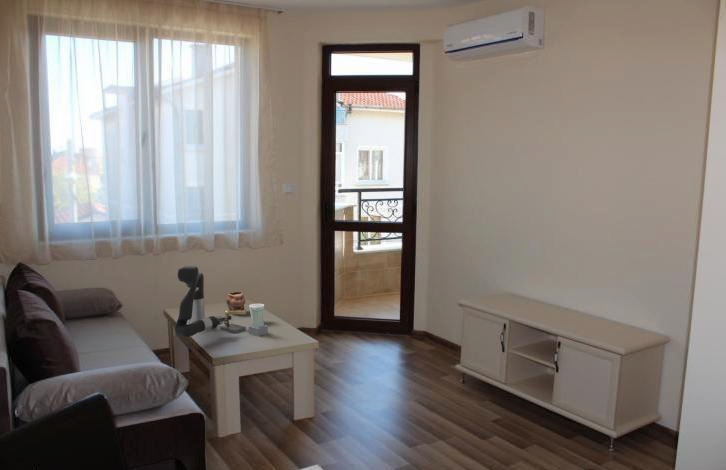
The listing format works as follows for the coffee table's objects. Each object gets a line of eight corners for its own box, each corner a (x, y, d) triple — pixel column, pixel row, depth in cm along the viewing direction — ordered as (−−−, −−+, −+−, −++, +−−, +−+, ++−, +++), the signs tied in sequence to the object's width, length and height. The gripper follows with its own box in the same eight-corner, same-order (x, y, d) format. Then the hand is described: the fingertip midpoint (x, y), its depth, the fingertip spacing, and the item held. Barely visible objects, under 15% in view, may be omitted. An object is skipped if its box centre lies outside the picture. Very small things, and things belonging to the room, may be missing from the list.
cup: (261, 324, 389) (261, 307, 388) (246, 323, 391) (246, 307, 390) (267, 320, 399) (266, 304, 398) (252, 319, 401) (252, 303, 400)
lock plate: (220, 329, 379) (220, 326, 378) (231, 326, 386) (231, 323, 385) (234, 333, 371) (234, 330, 370) (245, 329, 378) (245, 326, 378)
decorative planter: (221, 310, 423) (220, 291, 421) (237, 308, 430) (237, 288, 428) (233, 317, 407) (233, 296, 405) (250, 314, 414) (250, 294, 412)
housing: (258, 336, 365) (258, 328, 365) (248, 333, 370) (248, 326, 369) (267, 333, 372) (267, 325, 371) (258, 330, 376) (258, 323, 376)
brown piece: (225, 325, 379) (224, 311, 378) (225, 324, 382) (225, 310, 381) (246, 325, 380) (245, 311, 379) (246, 324, 383) (246, 310, 382)
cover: (258, 328, 367) (257, 310, 365) (252, 327, 370) (252, 309, 368) (263, 326, 371) (263, 309, 369) (258, 325, 373) (258, 307, 372)
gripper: (214, 319, 351) (237, 313, 365) (200, 315, 359) (223, 309, 372) (215, 332, 352) (238, 325, 366) (200, 328, 360) (223, 321, 373)
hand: (230, 317), depth 369 cm, fingers closed
